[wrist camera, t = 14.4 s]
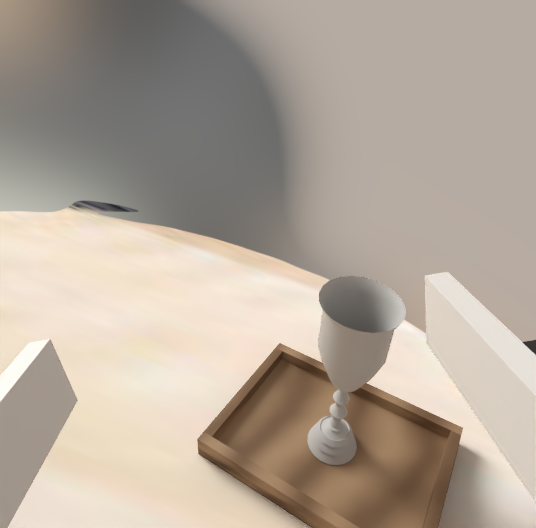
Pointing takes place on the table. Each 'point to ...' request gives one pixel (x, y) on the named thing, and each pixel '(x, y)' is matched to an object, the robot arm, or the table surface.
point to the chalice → (351, 353)
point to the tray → (325, 475)
